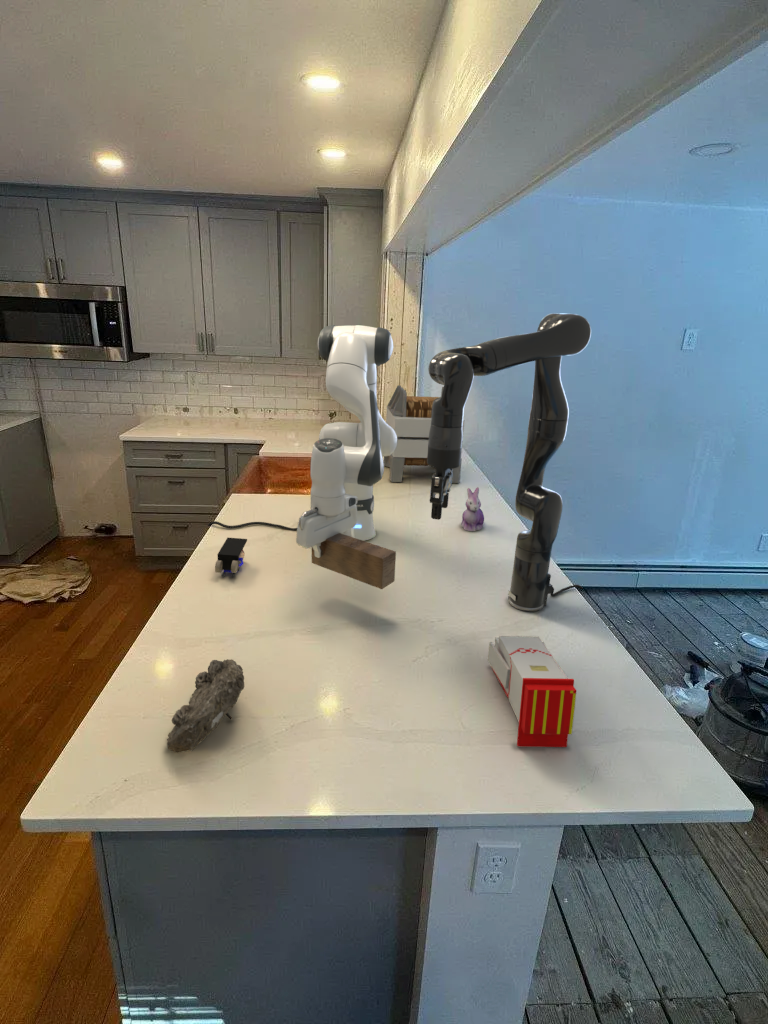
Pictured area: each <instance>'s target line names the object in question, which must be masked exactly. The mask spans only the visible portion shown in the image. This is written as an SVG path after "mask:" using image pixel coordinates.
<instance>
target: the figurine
mask: <svg viewBox="0 0 768 1024" xmlns="http://www.w3.org/2000/svg"><path fill="white" fill-rule="evenodd" d="M466 491H467V493H466V494H467V499H466V501H465V507H466V509H465V510H464V511H463V513H462V516H461V517H462V518H461V519H462V520H461V527H462V528H463V530H464V531H469V532H475V531H480V530H481V529H482V528H484V523H485V515H484V512H483V510H482V509H481V507H482V502H481V499H480V497H479V494H480V488H479V487H478V486H477V487H476V488H475V489H474V490H473V491H472V490H471V488H469V487H468V488H467V489H466Z"/></svg>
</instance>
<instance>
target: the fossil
mask: <svg viewBox="0 0 768 1024" xmlns="http://www.w3.org/2000/svg"><path fill="white" fill-rule="evenodd" d="M243 670H244V669H243V667H242V665H240V664H237V662H236V661H235V660H234V659H232V658H231V659H227V658H226V659H224V660H223V661H222V660H217V659H212V660H211V661H210V663H209V665H208V666H207V671H201V672H199V673H198V674H197V675H196V676H195V680H194V684H195V685H194V687H195V689H194V690H193V693H192V694H191V697H190V698H189V700H188V704H184V705H182V706H181V707H180V709H177V710H176V711H175V713H174V715H173V716H172V718H171V723H172V724H173V727H172V730H171V731H170V732H168V734H167V738H166V741H167V742H166V745H167V749H168V750H169V751H173V752H174V753H176V754H178V753H182V752H188V751H189V752H192V751H193V750H195V748H196V747H197V746H199V744H200V743H201V742H203V741H204V740H205V739H206V738H207V737H208V736H209V735H210V734H211V733H212V732H214V730H215V729H217V727H218V726H219V724H220V722H221V721H222V720H223V719H224V718H225V716H226V717H227V719H229V720H233V717H232V715H230V714H229V710H230V709H231V708H234V706H235V704H236V703H237V702H238V699H239V697H240V695H241V693H242V691H243V690H245V689H244V688H245V675H244V671H243Z"/></svg>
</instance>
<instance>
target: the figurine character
mask: <svg viewBox="0 0 768 1024" xmlns="http://www.w3.org/2000/svg"><path fill="white" fill-rule="evenodd" d="M247 542H248V538H240V537H226V539H225V541H224V543H223V544H222V546H221V547H220V549H219V551H218V552H217V560H216V562H215V564H214V572H215V573H221V577H222V578H224V577H225V576H226V574H227V573H230V574H231V573H232V574H231V578H234V577H235V575H236V573H237V572H239V571H240V567H242V566H243V565H244V564H245V562H244V558H245V551H244V547H245V546H246V544H247Z"/></svg>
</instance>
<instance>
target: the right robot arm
mask: <svg viewBox="0 0 768 1024" xmlns="http://www.w3.org/2000/svg"><path fill="white" fill-rule="evenodd" d="M591 337H592V327H591V324H590V322H589V320H588V319H587V318H586V317H584V316H583V315H580V314H577V313H564V312H563V313H562V312H561V313H560V312H558V313H557V312H551V313H548V314H546V315H545V316H544V317H543V318H542V319H541V320H540V322H539V324H538V327H537V330H536V331H533V332H530V333H529V332H527V333H522V334H515V335H507V336H501V337H497V338H494V339H490V340H487V341H484V342H479V343H477V344H475V345H470V346H463V347H455V348H449V349H446V350H442V351H440V352H438V353H437V354H435V355H434V356H433V357H432V358H431V359H430V362H429V364H428V374H429V377H430V378H431V380H432V381H434V382H435V383H436V384H439V385H443V387H444V388H443V392H442V391H441V392H442V396H441V395H440V396H437V397H438V398H436V399H435V400H434V401H433V404H432V415H431V426H430V431H429V440H428V455H427V464H428V467H431V468H434V469H435V471H434V473H432V477H431V484H430V494H429V504H430V503H431V511H430V512H431V513H430V518H431V519H432V520H438V521H439V520H441V518H442V513H443V509H447V508H448V505H449V498H450V497H449V495H450V492H451V488H452V486H453V483H452V472H453V469H454V468H457V467H459V466H460V461H461V458H462V453H461V450H462V451H463V443H462V441H463V439H464V432H463V431H462V426H463V419H464V414H465V406H466V404H467V401H468V398H469V394H470V392H471V389H472V386H473V382H474V377H485V376H490V375H493V374H495V373H499V372H502V371H505V370H509V369H511V368H514V367H517V366H521V365H524V364H528V363H531V362H534V378H533V388H532V397H531V406H530V410H529V411H530V412H529V418H528V424H527V425H528V426H527V436H526V444H525V451H524V457H523V461H522V462H523V463H522V468H521V472H520V475H519V476H520V477H519V481H518V486H517V488H516V494H515V499H514V500H515V502H514V505H515V511H516V513H517V514H518V515H519V516H520V517H522V518H523V519H526V520H528V521H531V522H532V524H531V529H526V530H522V531H519V533H518V534H517V536H516V541H515V543H516V544H515V551H514V552H515V553H514V559H513V566H512V574H511V580H510V587H509V590H508V593H507V595H508V600H507V601H508V603H509V604H510V606H512V607H513V608H514V609H516V610H520V611H523V612H538V611H540V610H542V609H543V608H544V607H547V603H548V597H549V595H550V597H556V596H558V595H560V594H561V593H563V592H566V591H568V590H571V589H574V588H578V589H580V590H584V588H583V586H581V585H580V584H572V585H573V586H572V585H569V586H566V587H564V588H561V589H560V590H558V591H555V588H554V587H553V584H551V578H552V574H551V573H550V572H549V570H550V563H551V556H552V550H553V544H554V542H555V540H556V539H557V537H558V533H559V528H560V523H561V519H562V514H563V498H562V496H561V494H559V493H558V492H556V491H554V490H552V489H549V488H547V487H544V486H543V485H544V484H543V483H544V476H545V472H546V468H547V466H548V464H549V462H550V461H551V459H552V458H553V457H554V456H555V454H556V453H557V452H558V450H559V449H560V448H561V446H562V445H563V443H564V441H565V438H566V436H567V430H568V423H569V415H570V408H569V402H568V400H567V396H566V394H565V393H566V392H565V389H564V386H563V382H562V378H561V367H562V366H561V365H562V359H563V357H564V356H565V357H566V356H568V357H569V356H574V355H577V354H580V353H581V352H583V350H584V349H586V347H587V346H588V345H589V343H590V340H591ZM436 495H438V497H436Z"/></svg>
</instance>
